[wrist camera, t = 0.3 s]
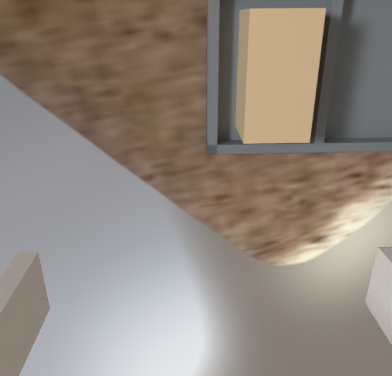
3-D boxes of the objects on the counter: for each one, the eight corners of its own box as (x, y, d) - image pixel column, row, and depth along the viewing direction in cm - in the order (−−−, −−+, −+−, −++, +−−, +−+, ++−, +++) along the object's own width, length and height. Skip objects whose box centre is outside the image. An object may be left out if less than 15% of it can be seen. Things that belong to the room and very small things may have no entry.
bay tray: (206, -21, 34) (211, -28, 28) (455, -22, 35) (512, -30, 29) (206, 147, 41) (210, 170, 35) (415, 144, 41) (454, 165, 35)
